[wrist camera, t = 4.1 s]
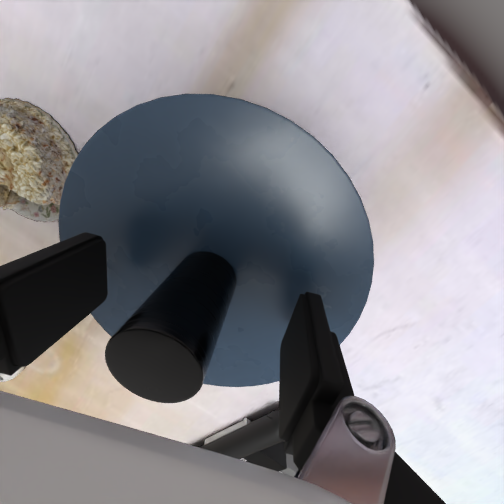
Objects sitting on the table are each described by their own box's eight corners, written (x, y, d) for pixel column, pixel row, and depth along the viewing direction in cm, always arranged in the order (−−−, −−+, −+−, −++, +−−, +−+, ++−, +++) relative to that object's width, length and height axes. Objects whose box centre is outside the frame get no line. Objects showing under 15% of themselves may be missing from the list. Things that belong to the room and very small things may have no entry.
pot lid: (86, 335, 15) (-30, 443, 9) (62, 58, 9) (-290, -92, 3) (306, 396, 15) (320, 543, 9) (431, 152, 9) (687, 152, 3)
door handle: (360, 485, 29) (274, 424, 25) (247, 517, 36) (165, 473, 32) (352, 453, 32) (274, 393, 28) (249, 488, 39) (174, 445, 35)
